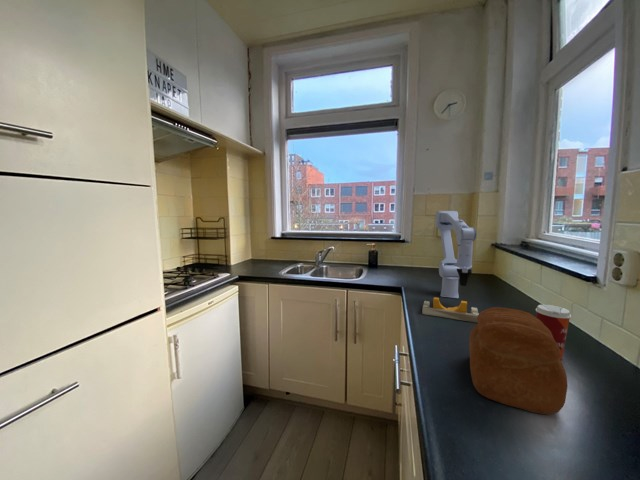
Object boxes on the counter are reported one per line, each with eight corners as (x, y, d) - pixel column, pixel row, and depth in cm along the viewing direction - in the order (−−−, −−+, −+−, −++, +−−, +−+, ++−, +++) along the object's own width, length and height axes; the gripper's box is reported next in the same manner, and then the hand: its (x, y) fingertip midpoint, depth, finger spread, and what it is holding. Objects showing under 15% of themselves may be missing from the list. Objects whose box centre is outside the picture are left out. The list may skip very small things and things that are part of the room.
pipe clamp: (465, 315, 104) (466, 300, 104) (466, 319, 101) (467, 303, 100) (433, 310, 110) (434, 295, 109) (432, 314, 106) (433, 298, 105)
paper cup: (570, 365, 70) (575, 315, 68) (534, 357, 74) (538, 310, 72) (562, 352, 76) (567, 306, 75) (529, 345, 80) (533, 302, 79)
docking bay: (424, 306, 115) (424, 300, 114) (476, 313, 106) (476, 307, 106) (422, 313, 106) (422, 308, 106) (479, 322, 97) (479, 316, 97)
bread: (543, 369, 68) (549, 308, 66) (571, 428, 50) (580, 344, 48) (467, 352, 77) (471, 297, 75) (467, 396, 58) (471, 324, 57)
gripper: (454, 252, 121) (452, 280, 122) (454, 256, 108) (453, 288, 109) (471, 253, 117) (469, 282, 119) (474, 258, 105) (472, 290, 106)
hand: (463, 285), depth 114 cm, fingers closed
